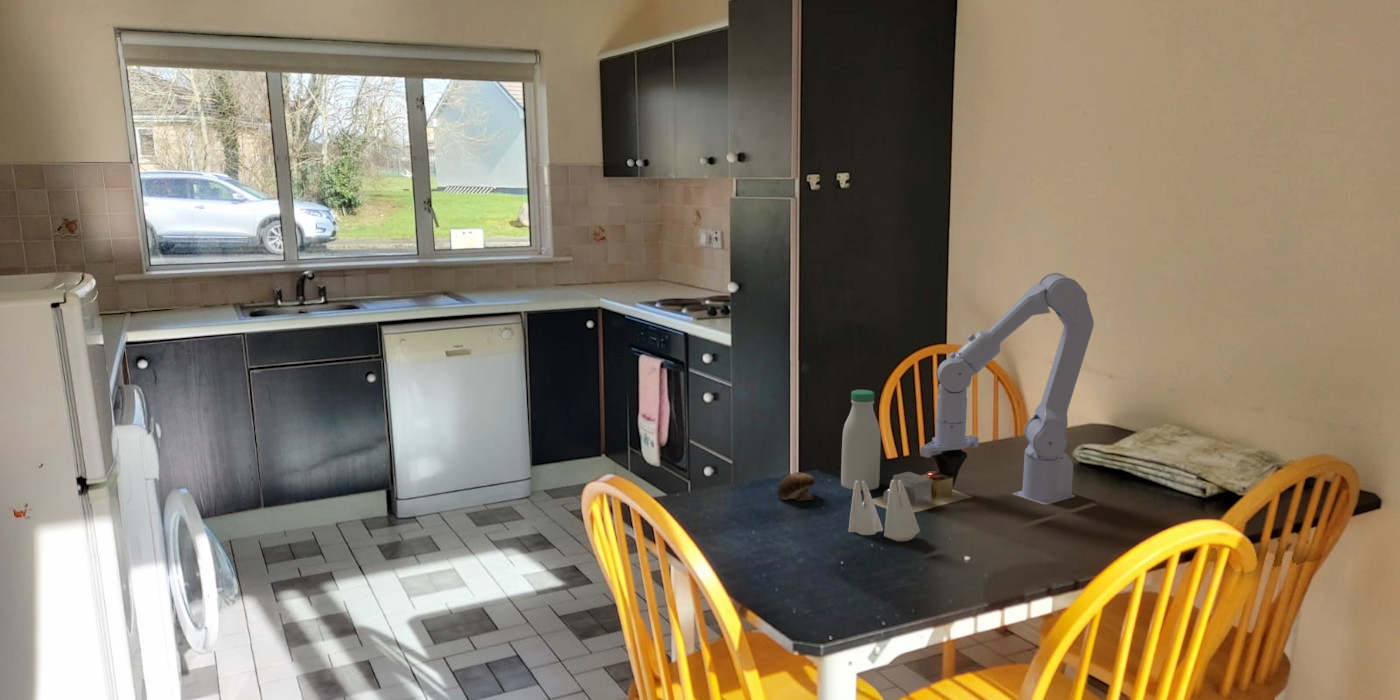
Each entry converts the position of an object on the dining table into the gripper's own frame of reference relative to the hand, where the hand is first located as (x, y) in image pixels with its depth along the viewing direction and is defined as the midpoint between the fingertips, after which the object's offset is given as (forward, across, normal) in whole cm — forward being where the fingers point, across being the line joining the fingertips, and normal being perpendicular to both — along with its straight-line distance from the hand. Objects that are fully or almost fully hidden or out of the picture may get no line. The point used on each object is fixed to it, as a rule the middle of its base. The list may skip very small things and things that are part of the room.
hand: (947, 486), depth 195 cm
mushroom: (+2, +28, -14) cm, 31 cm away
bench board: (+2, +8, 0) cm, 8 cm away
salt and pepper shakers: (+2, +28, +10) cm, 29 cm away
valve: (+1, +5, 0) cm, 5 cm away
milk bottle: (+2, +12, -13) cm, 17 cm away
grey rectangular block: (+1, +12, 0) cm, 12 cm away
